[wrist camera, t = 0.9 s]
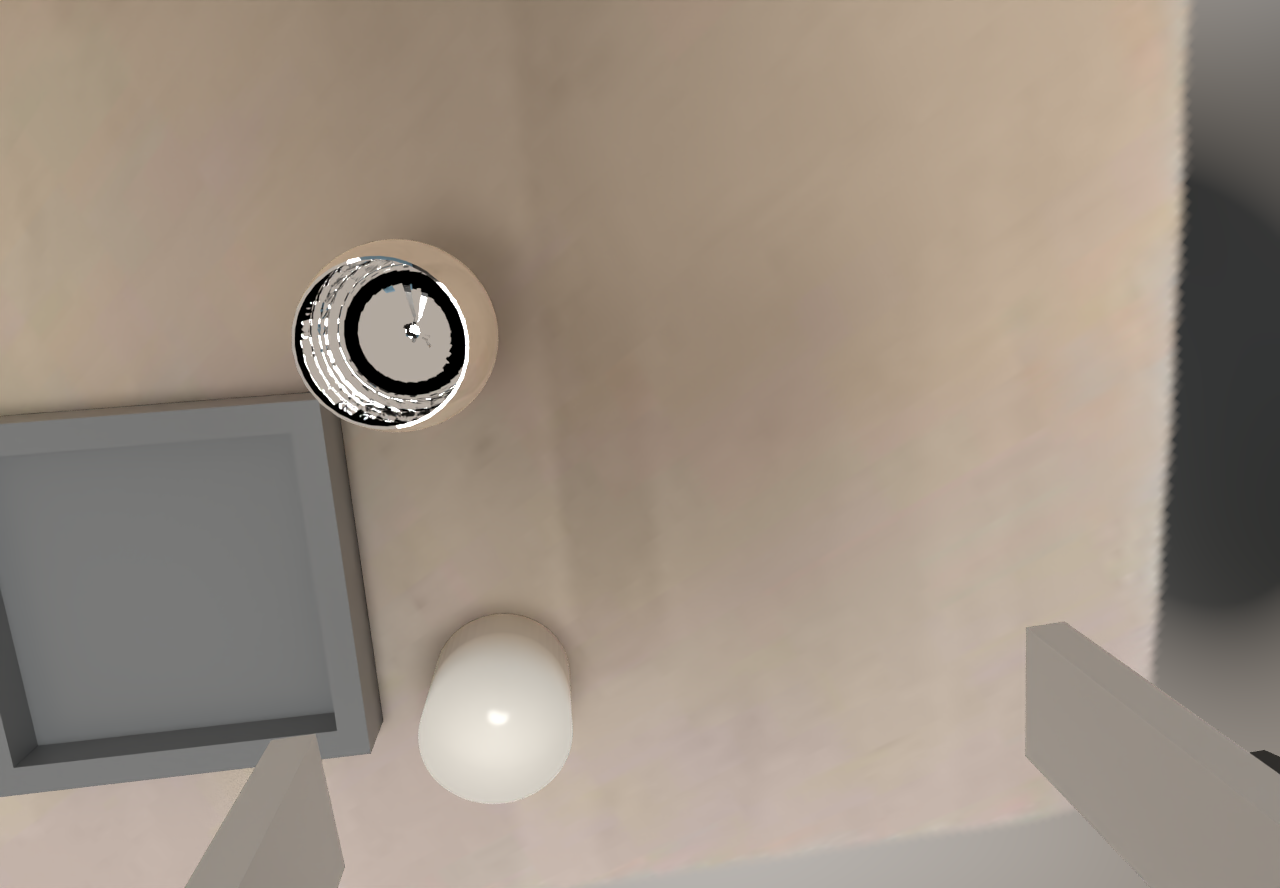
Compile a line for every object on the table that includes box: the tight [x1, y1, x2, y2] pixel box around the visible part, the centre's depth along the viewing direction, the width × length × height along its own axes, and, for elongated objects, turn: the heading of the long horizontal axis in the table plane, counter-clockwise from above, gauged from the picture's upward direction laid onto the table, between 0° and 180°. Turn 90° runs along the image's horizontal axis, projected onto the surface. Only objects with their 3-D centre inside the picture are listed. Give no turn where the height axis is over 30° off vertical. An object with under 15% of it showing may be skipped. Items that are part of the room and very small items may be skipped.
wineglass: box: [292, 239, 499, 432], centre depth 28 cm, size 6×6×12 cm
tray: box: [0, 392, 383, 797], centre depth 33 cm, size 15×15×3 cm
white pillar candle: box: [418, 614, 573, 804], centre depth 35 cm, size 6×6×5 cm
